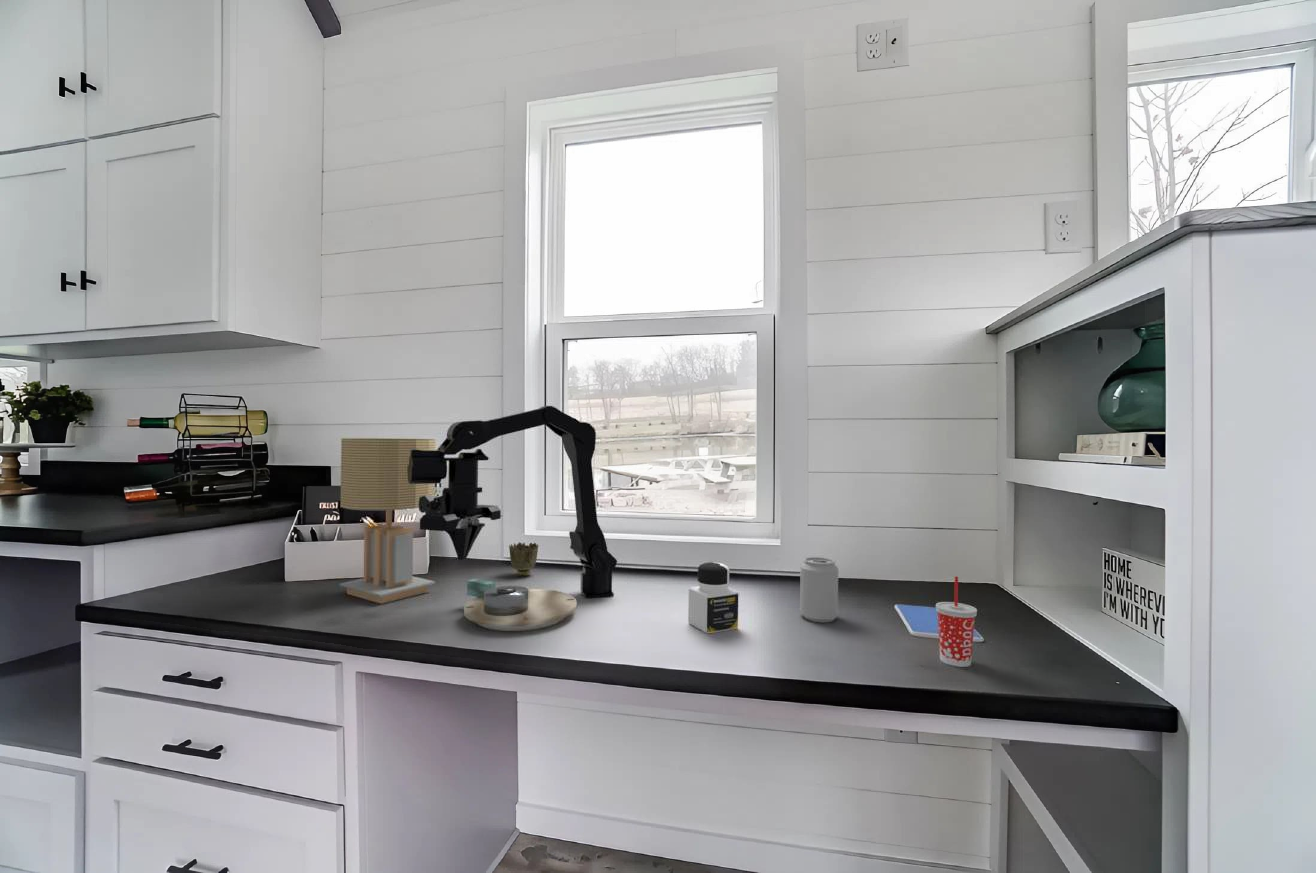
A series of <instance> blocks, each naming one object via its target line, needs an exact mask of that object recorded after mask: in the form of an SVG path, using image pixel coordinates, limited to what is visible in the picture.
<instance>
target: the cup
mask: <svg viewBox="0 0 1316 873" xmlns="http://www.w3.org/2000/svg"><path fill="white" fill-rule="evenodd" d="M508 548H509V557H510V558H509V559H510V562H511V563H510V564H511V566H512V568H513V569H514V570H516V572H515V573H516V576H518V577H528V576H530V575H531V574H532V573H531V572H532V571H531V569H533V568H534V567H535V566H536V563H537V560H538V558H537V557H538V552H539V544H538V543H536V542H534V543H532V542H530V543H529V545H526V543H525V542H523V543H522V542H520V541H519V542H518V543H517V544H516V543H513V544H509V545H508Z"/></svg>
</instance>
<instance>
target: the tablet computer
mask: <svg viewBox="0 0 1316 873" xmlns="http://www.w3.org/2000/svg"><path fill="white" fill-rule="evenodd" d="M894 609H895V611H896V612H897V614H898V615H899V617H900V619H901V621H902V622H903V623H904V625H905V627H906V629H907V630H908V632H909V634H910V635H911V636H914V637H918V638H928V639H938V640H939V630H938V612H937V611H936V606H935V607H933V606H924V605H923V606H922V605H910V604H907V605H906V604H900V603H899V604H895V605H894ZM984 640H985V639H984V637H983V636H982V635H981V634H980V633H979V632H978V631H977V630H976V629H975V628H974V633H973V643H981V642H982V643H983V642H984Z"/></svg>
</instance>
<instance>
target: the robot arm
mask: <svg viewBox="0 0 1316 873" xmlns="http://www.w3.org/2000/svg"><path fill="white" fill-rule="evenodd" d="M541 426H545V427H547V428H548V429H549V430H551V432H553V433H554V434H555V435H557V436H559V437H560V438H561V440H562V441H561V442H562V444H563V448H564V451H565V454H566V455H567V458H568V459H569V461H570V466H571V475H572V486H573V493H574V494H573V495H574V505H575V506H574V507H575V514H576V527H575V530H573V531H569V532H568V533H569V534H568V536H569V538H570V539H569V540H570V547H569V549H571V550H572V551H573V553H574V555H575V556H576V557H577V558H578V559H579V562H580V564H581V565H583V566H582V572H581V573H580V588H579V589H580V592H581V593H582V594H583V595H584V596H583V597H584V598H587V599H588V598H599V597H600V598H602V597H612V596H614V595H615V594H614V592H613V570H615V569H616V566H617V564H618V560H617V559H616V558H615V557H614V556H613V555H612V554H611V552H609V551H608V546H607V542H606V538H605V534H604V532H603V530H602V529H601V527H600V524H599V522H598V516H597V515H598V513H597V505H596V503H597V502H596V496H595V495H596V494H595V484H594V472H593V466H592V462H593V456H594V454H595V450H596V440H597V433H596V429H595V427H594V426H593V425H592V424H590V423H589V422H586V421H585V422H584V421H580V420H578V419H577V418H575V417H573V416H571V415H568V414H567V413H566V412H565V413H564V412H563V411H561V410H559V409H558V408H557V407H556V406H553V405H545V406H544V405H543V406H540V407H539V408H536V409H532V410H528V411H523V412H519V413H513V414H510V415H505V416H502V417H497V418H494V419H480V420H466V421H465V420H464V421H456V422H454V423H452V424H451V425H450V426H449V428H448V429H447V431H446V438H445V440H443V442H442V443H441V444H440V445H439V447H438V448H436V449H435V450H417V449H411V450H410V458H409V465H408V468H407V473H408V482H409V484H435V485H437V484H440V483H441V482H442V480H444V479H446V478H447V475H448V478H447V480H448V483H447V484H448V485H447V487H443V489H442V490H441V491H442V493H441V494H442V495H441V496H437V497H436V496H435V498H433V497H432V496H431V495H426V496H422V497H420V498H419V508H418V510H419V512H420V513H421V514H422V516H421V517H420V518H419V530H422V531H435V532H436V531H437V532H446V534H448V535H449V538H450V540H451V542H452V544H453V548H454V550H455V553H456V557H457V559H458V560H459V561H464V560H466V559H467V558H468V555H469V553H470V551H471V550H472V548H473V545H474V544H475V542H476V540H477V538H478V536H479V534H480V532H481V531H482V529H483V528H484V527H485V526H486V523H485V522H484V523H482V522H480V519H481V518H484V519H485V518H486V519H490V520H491V521H496V520H500V519H501V516H502V514H501V509H500V507H499V506H498V505H491V504H490V505H488V504H478V500H479V498H478V496H479V493H483V487H481V486H479V461H489V459H490V457H488V455H486V454H485V453H484V452H483V450H482V449H481V448H478V447H480V446H481V445H484V444H486V443H488V442H490V441H492V440H494V439H496V438H497V437H500V436H501V437H502V436H504V435H505V436H506V435H510V434H513V433H517V432H521V431H525V430H528V429H533V428H536V427H541ZM475 448H476V450H475V451H474V452H473V451H472V452H469V451H467V452H462V451H463V450H473V449H475ZM458 453H459V454H458ZM457 454H458V457H445V456H446V455H448V456H449V455H450V456H454V455H457Z"/></svg>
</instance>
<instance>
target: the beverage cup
mask: <svg viewBox="0 0 1316 873" xmlns="http://www.w3.org/2000/svg"><path fill="white" fill-rule="evenodd" d="M958 596H959V576H954V601H939V602H936V604H935V608H936V611H937V612H938V630H939V639H938V642H939V643H938V645H939V659H940V661H941V662H942V663H944V664H946V665H949V666H952V667H960V668H964V667H967V668H968V667H970V666H972V657H973V656H972V655H973V643H974V642H973V633H974V629H975V619H976V617H977V613H978V609H977V608H976V607H975V606H972V605H970V604H965V603H962V602H961V603H960V602H959V597H958Z"/></svg>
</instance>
